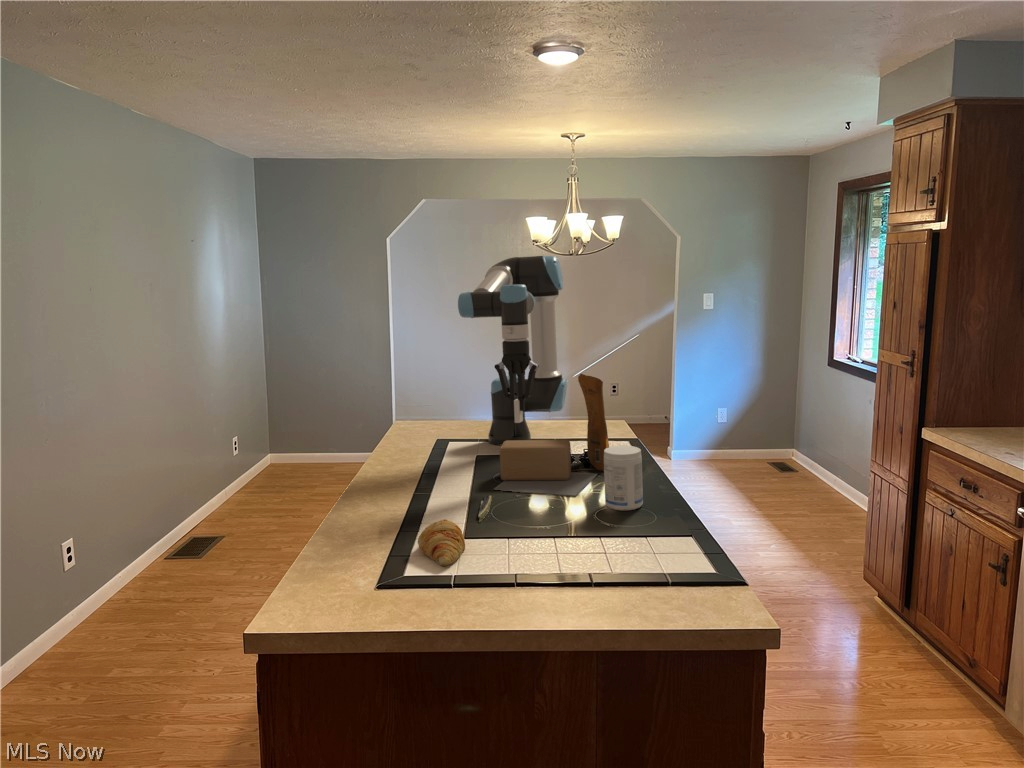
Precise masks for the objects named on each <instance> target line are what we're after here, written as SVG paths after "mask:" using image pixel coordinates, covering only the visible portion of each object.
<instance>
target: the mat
mask: <svg viewBox="0 0 1024 768" xmlns="http://www.w3.org/2000/svg"><path fill="white" fill-rule="evenodd" d="M597 476H598V473H596V472H595V473H593V472H575V471H571V473H570V478H569V479H568V480H510V481H504V480H503V481H502V482H501V483H500V484H498V485H496V487H494V488H493V489H495V490H504V491H512V492H511V493H517V492H520V493H521V494H531V495H532V494H534V495H545V496H555V497H556V496H557V497H569V498H570V497H572V498H576V497H577V496H578V495H579V494H580V493H582V491H583V490H584V489H585V488H586V487H587V486H588V485H589V484H590V483H591V482H592V481H593V480H594V479H595V478H596V477H597ZM520 493H519V494H520Z"/></svg>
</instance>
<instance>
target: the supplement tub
mask: <svg viewBox="0 0 1024 768" xmlns="http://www.w3.org/2000/svg"><path fill="white" fill-rule="evenodd" d="M642 459H643V458H642V450H641V448H639V447H637V446H632V445H614V446H609V448H606V449H605V450H604V471H603V473H604V474H603V475H604V476H603V478H604V479H603V480H604V498H605V499H604V500H605V505H606V506H607V508H610V509H611V510H614V511H622V512H623V511H624V512H625V511H632V510H633V511H634V510H636V509H639V508H640V507H642V506H643V503H644V496H643V494H644V491H643V486H644V485H643V462H642V461H643V460H642Z"/></svg>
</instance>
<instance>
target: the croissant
mask: <svg viewBox="0 0 1024 768" xmlns="http://www.w3.org/2000/svg"><path fill="white" fill-rule="evenodd" d="M465 541H466V540H465V536H464V534H463V531H462V529H461V528H460V527H459V525H458V524H456V523H455V522H453V521H450V520H448V519H442V520H439V521H435V522H433V523H431V524H429V525H427V526H426V527H425V528H424V529H423V530H422V532H421V533H420V535H419V536H418V538H417V545H418V548H419V550H421V551H422V552H423V554H424V555H426V556H427V557H429V558H430V559H431V560H433V561H435V562H437V563H439V565H441V566H445V567H446V566H449V565H452V564H453V563H455V562H456V561H457V560H458V559H459V558H460V557H461V556H462V555H463V554H462V553H464V552H465V550H466V542H465Z"/></svg>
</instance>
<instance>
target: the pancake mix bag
mask: <svg viewBox="0 0 1024 768" xmlns="http://www.w3.org/2000/svg"><path fill="white" fill-rule="evenodd" d="M577 378H578V379H577V381H578V383H579V387H580V389H581V391H582V394H583V398H584V401H585V407H586V412H587V430H586V431H587V434H586V438H587V440H586V441H587V443H586V445H587V449H586V450H587V458H588V457H589V460H590V462H589V464H590V465H592V466H593V468H594V469H595V470H598V471H603V472H604V450H605V449H606V448H609V447H610V443H609V435H608V434H609V433H608V425H607V421H606V416H605V415H606V412H605V404H604V390H603V388H604V387H603V386H604V385H603V384H604V381H603V380H601V379H600V378H599V377H595V376H592V375H586V374H583V373H580V374H579V375H578V377H577Z"/></svg>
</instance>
